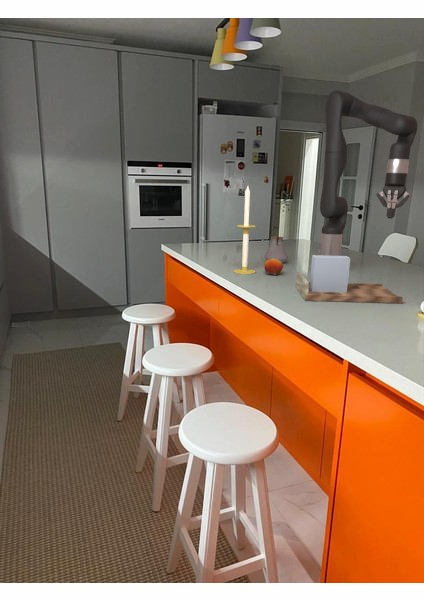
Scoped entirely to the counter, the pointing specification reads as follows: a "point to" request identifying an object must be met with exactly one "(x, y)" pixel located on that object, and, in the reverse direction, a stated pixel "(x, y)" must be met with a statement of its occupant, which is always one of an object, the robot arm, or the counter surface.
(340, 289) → the block
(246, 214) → the candle
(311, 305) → the counter surface
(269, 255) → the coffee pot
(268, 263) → the fruit
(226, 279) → the counter surface
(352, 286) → the lane
